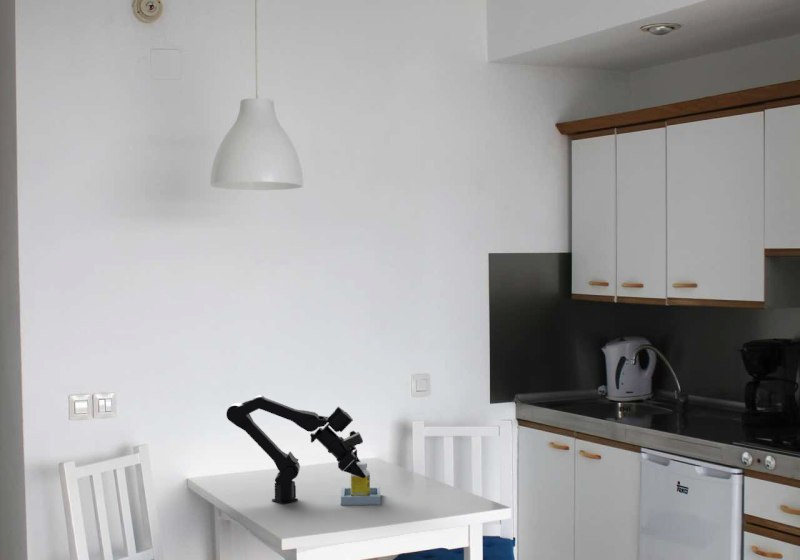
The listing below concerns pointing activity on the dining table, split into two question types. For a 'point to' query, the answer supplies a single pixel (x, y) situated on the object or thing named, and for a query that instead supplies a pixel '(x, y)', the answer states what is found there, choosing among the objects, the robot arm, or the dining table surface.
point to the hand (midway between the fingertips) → (364, 474)
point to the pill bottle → (361, 482)
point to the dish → (360, 497)
